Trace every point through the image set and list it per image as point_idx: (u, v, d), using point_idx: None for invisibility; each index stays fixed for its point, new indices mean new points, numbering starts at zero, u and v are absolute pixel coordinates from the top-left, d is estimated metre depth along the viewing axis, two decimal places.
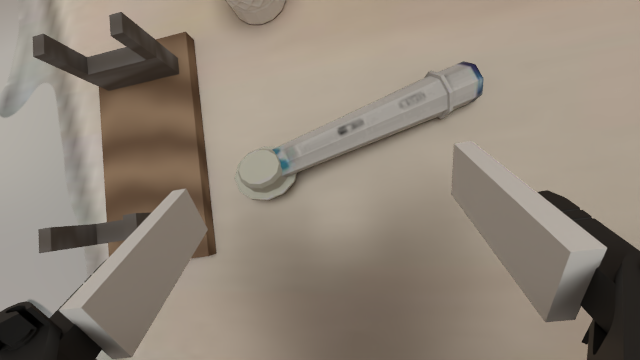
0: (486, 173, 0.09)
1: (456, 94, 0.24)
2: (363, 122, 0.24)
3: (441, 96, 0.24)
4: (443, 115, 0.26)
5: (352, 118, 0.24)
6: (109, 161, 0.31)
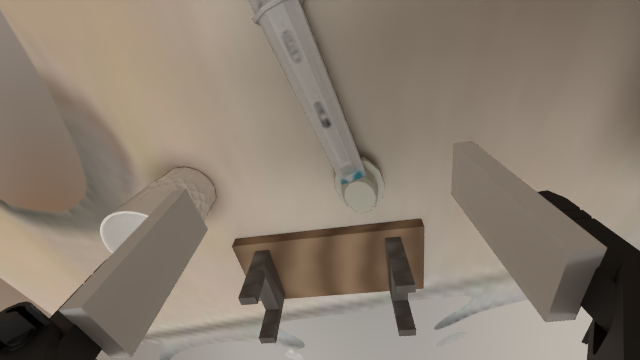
0: (486, 173, 0.09)
1: None
2: (317, 102, 0.24)
3: (285, 9, 0.21)
4: None
5: (313, 112, 0.24)
6: (340, 291, 0.41)
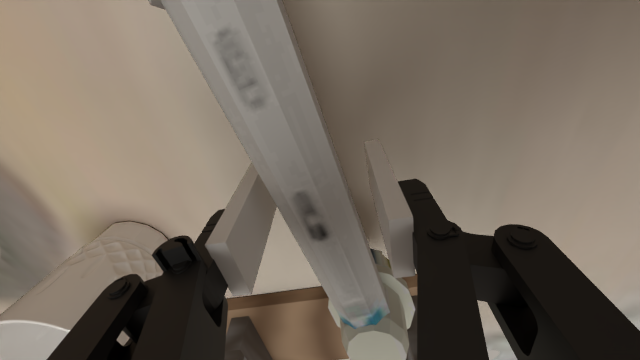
0: (371, 165, 0.11)
1: None
2: (300, 193, 0.11)
3: None
4: None
5: (292, 211, 0.11)
6: (341, 355, 0.33)
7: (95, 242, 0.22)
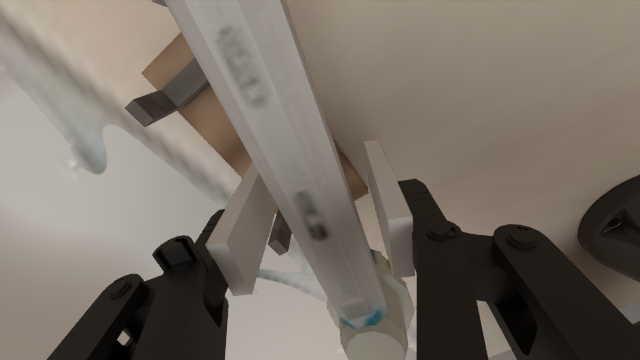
0: (371, 165, 0.11)
1: None
2: (301, 192, 0.11)
3: None
4: None
5: (292, 211, 0.11)
6: (237, 165, 0.33)
7: None
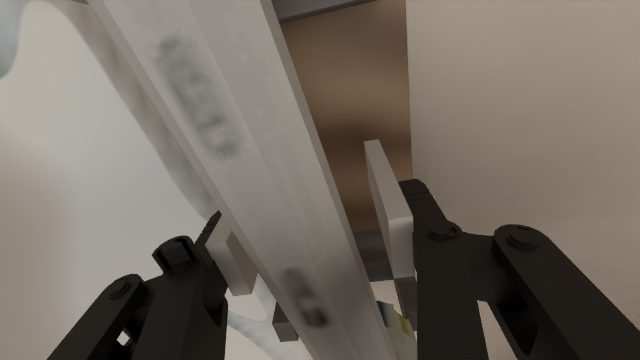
0: (371, 165, 0.11)
1: None
2: (292, 270, 0.07)
3: None
4: None
5: (279, 292, 0.08)
6: None
7: None
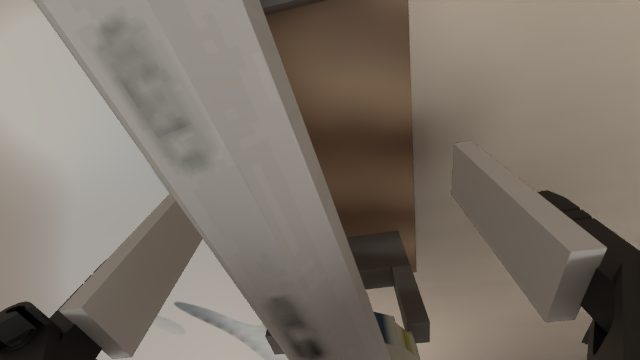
0: (486, 173, 0.09)
1: None
2: (279, 298, 0.06)
3: None
4: None
5: (265, 321, 0.07)
6: None
7: None
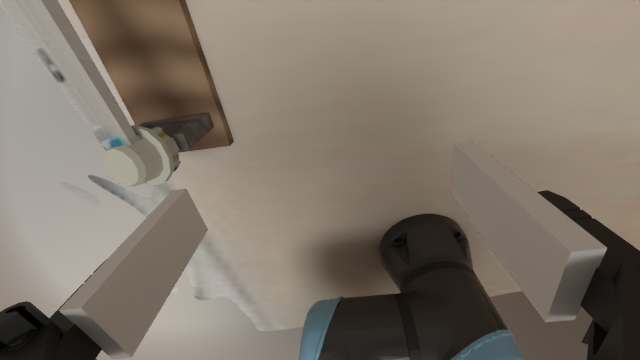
0: (486, 173, 0.09)
1: None
2: (40, 49, 0.20)
3: None
4: None
5: None
6: (110, 65, 0.32)
7: None
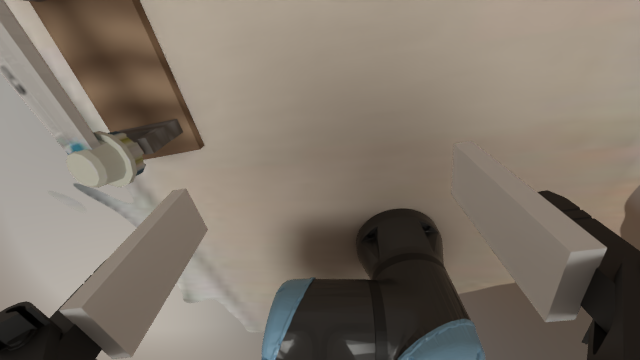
0: (486, 173, 0.09)
1: None
2: (2, 66, 0.23)
3: None
4: None
5: (4, 77, 0.23)
6: (83, 79, 0.35)
7: None
